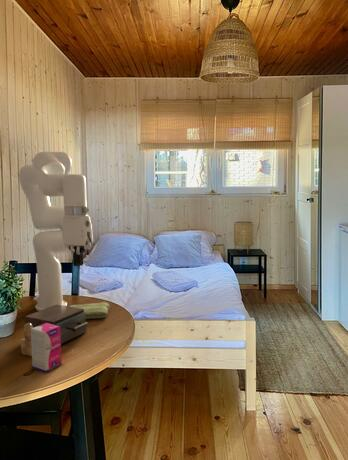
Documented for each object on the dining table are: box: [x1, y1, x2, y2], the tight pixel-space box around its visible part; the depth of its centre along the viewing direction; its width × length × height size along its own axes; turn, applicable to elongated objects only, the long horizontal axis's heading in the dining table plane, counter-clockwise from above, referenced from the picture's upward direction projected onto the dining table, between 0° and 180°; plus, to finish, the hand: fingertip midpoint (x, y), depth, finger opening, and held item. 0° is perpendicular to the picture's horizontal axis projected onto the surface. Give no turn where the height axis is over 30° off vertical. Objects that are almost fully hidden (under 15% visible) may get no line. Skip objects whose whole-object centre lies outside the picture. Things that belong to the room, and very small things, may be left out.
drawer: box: [55, 312, 89, 345], centre depth 138 cm, size 15×13×7 cm
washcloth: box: [68, 301, 111, 320], centre depth 162 cm, size 13×18×3 cm
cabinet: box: [24, 305, 86, 345], centre depth 140 cm, size 12×14×8 cm
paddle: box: [20, 323, 32, 357], centre depth 126 cm, size 5×2×10 cm, turn 62°
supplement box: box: [31, 323, 62, 373], centre depth 117 cm, size 6×6×12 cm
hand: (78, 265), depth 142 cm, fingers closed
